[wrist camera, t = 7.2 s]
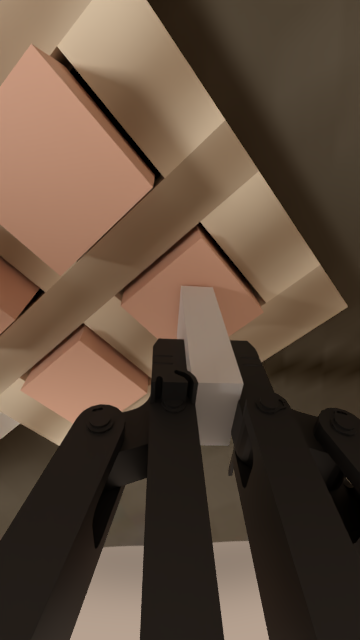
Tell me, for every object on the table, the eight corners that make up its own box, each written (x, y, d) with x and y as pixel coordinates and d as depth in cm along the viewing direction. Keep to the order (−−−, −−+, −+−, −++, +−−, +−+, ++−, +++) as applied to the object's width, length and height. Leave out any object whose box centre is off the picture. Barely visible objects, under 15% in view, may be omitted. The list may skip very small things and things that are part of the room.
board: (-170, 257, 17) (-228, 279, 15) (65, -100, 11) (37, -168, 9) (103, 434, 26) (96, 467, 23) (323, 283, 20) (347, 306, 17)
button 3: (-11, 162, 14) (-62, 171, 10) (65, 65, 12) (31, 43, 9) (80, 247, 16) (60, 276, 12) (155, 174, 14) (153, 187, 11)
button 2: (41, 351, 21) (20, 390, 18) (92, 306, 19) (79, 340, 16) (99, 392, 23) (89, 433, 20) (149, 355, 21) (147, 393, 18)
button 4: (127, 276, 18) (120, 306, 15) (194, 218, 17) (201, 237, 14) (183, 330, 20) (187, 365, 17) (247, 282, 19) (264, 312, 16)
